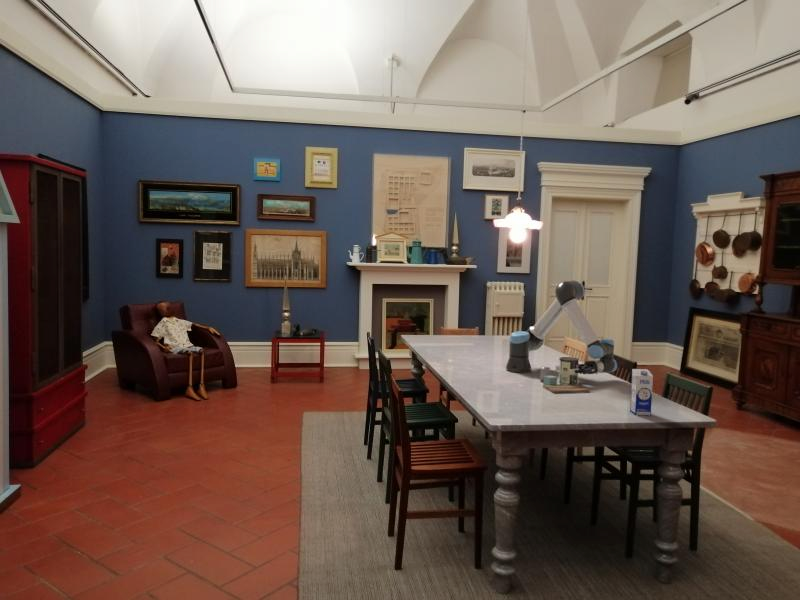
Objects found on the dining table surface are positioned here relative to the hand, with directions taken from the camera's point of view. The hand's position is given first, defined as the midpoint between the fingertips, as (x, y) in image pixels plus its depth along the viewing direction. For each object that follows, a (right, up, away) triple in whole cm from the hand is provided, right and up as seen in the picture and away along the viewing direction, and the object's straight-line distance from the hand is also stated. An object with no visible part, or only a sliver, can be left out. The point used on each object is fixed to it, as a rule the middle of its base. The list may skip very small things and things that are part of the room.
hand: (562, 369), depth 316 cm
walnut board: (-2, -9, -12) cm, 15 cm away
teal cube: (-8, -8, -3) cm, 11 cm away
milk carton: (+20, -13, -55) cm, 60 cm away
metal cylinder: (-8, -7, +6) cm, 13 cm away
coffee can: (+4, -8, +3) cm, 9 cm away
